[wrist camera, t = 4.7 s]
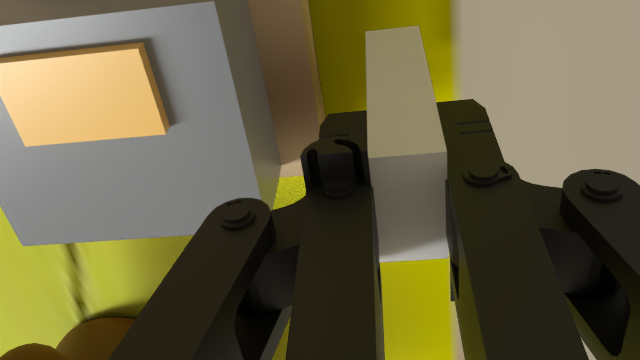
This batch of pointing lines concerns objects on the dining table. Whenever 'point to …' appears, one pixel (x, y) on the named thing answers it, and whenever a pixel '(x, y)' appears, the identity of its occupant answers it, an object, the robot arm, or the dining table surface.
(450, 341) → the dining table surface
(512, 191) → the robot arm
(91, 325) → the mug
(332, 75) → the dining table surface
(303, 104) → the board
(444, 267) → the dining table surface
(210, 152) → the grey rectangular block
